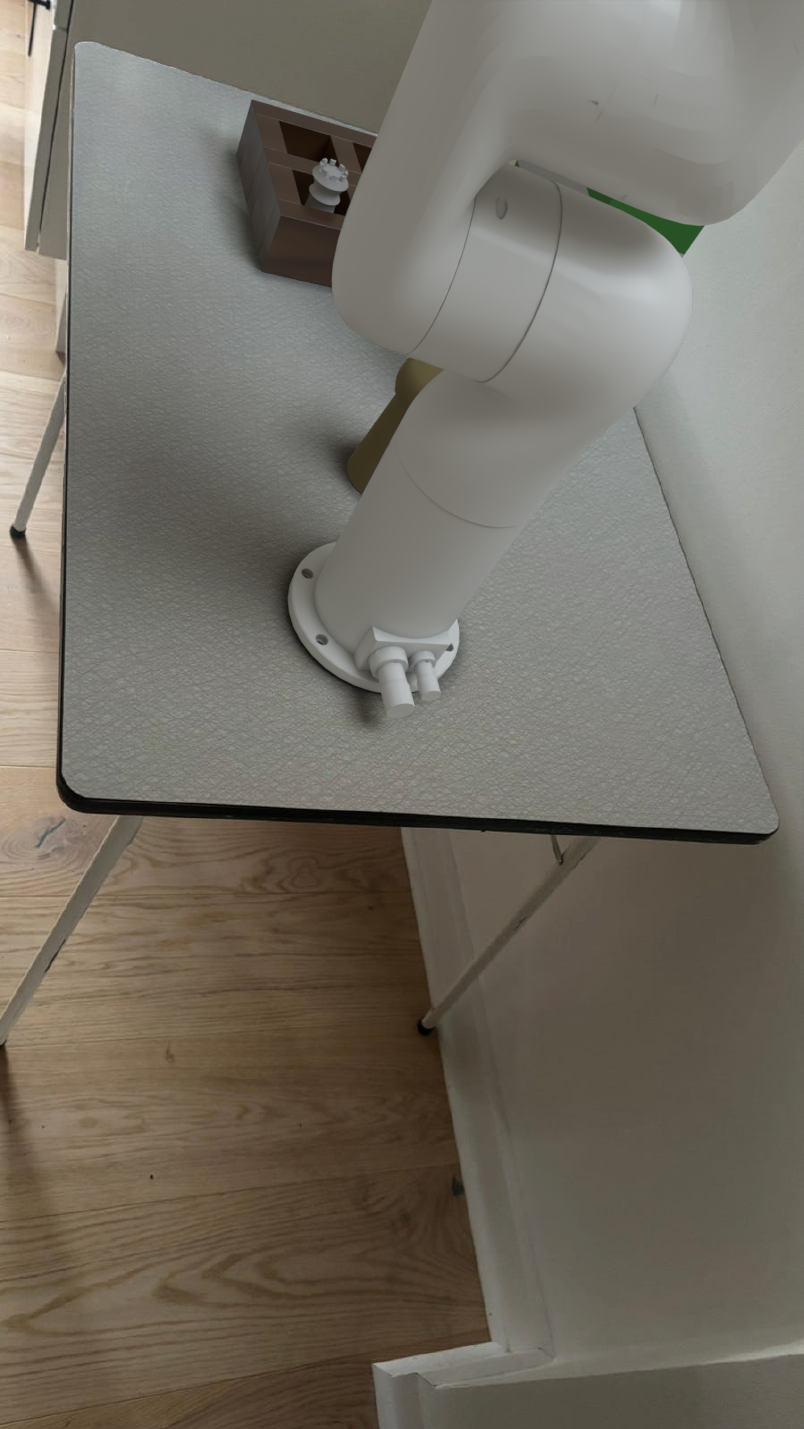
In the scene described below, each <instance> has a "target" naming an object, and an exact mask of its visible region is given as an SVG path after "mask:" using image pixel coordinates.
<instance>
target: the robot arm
mask: <svg viewBox="0 0 804 1429" xmlns="http://www.w3.org/2000/svg"><path fill="white" fill-rule="evenodd" d="M405 64H406V65H405V66H404V69H403V72H402V74H401V77H400V79H399V81H398V84H397V86H396V89H395V91H394V94H393V96H392V99H391V101H390V104H389V106H388V109H387V111H386V113H385V116H384V117H383V118H384V119H383V120H382V124H381V126H380V129H379V130H378V133H377V138H376V141H375V143H374V145H373V148H372V150H371V153H370V155H369V158H368V160H367V162H366V165H365V167H364V170H363V172H362V175H361V177H360V179H359V182H358V185H357V187H356V190H355V193H354V195H353V198H352V200H351V203H350V206H349V208H348V211H347V214H346V216H345V219H344V222H343V226H342V229H341V232H340V235H339V239H338V242H337V247H336V252H335V257H334V262H333V270H332V287H331V291H332V292H331V293H332V296H333V302H334V305H335V307H336V310H337V312H338V314H339V316H340V318H341V319H342V320H343V322H344V323H345V324H346V326H347V327H348V328H349V329H351V330H352V331H353V332H354V333H355V334H357V335H358V336H360V337H361V338H362V339H365V340H366V341H368V342H370V343H372V344H374V345H377V346H379V347H381V348H384V349H386V350H389V351H391V352H394V353H397V354H399V355H402V356H403V357H406V358H413V359H415V360H418V361H421V362H424V363H427V364H430V365H433V366H436V367H439V368H441V369H444V370H443V371H442V372H440V373H439V374H438V375H437V376H436V377H434V378H433V379H432V380H431V381H430V382H429V383H428V384H427V385H426V386H425V387H424V388H423V389H422V390H421V391H420V393H419V394H418V395H417V396H416V398H415V399H414V400H413V402H412V403H411V405H410V406H409V408H408V410H407V412H406V413H405V415H404V417H403V419H402V421H401V423H400V424H399V427H398V428H397V430H396V432H395V434H394V435H393V437H392V439H391V441H390V443H389V445H388V447H387V449H386V450H385V452H384V454H383V456H382V458H381V460H380V462H379V464H378V466H377V468H376V469H375V471H374V473H373V475H372V477H371V479H370V481H369V483H368V485H367V486H366V488H365V490H364V492H363V494H361V496H360V497H359V500H358V501H357V504H356V506H355V507H354V508H353V511H352V513H351V515H350V516H349V519H348V520H347V522H346V525H345V526H344V528H343V530H342V531H341V534H340V536H339V537H338V540H337V541H333V542H329V543H327V544H322V545H321V546H319V547H317V548H315V549H314V550H311V551H310V553H308V554H307V555H306V556H305V557H304V558H302V560H301V561H300V563H299V564H298V566H297V567H296V569H295V572H294V574H293V577H292V579H291V581H290V584H289V588H288V593H287V605H288V613H289V616H290V621H291V624H292V627H293V628H294V631H295V633H296V634H297V636H298V638H299V640H300V642H301V643H302V644H303V646H304V647H305V648H306V649H307V651H308V652H309V653H310V655H311V656H312V657H313V658H314V659H315V660H316V661H317V662H318V663H319V664H320V665H322V667H324V669H326V670H328V671H329V672H330V673H332V674H333V675H335V676H336V677H338V678H339V679H340V680H342V681H345V682H346V683H349V684H351V685H353V686H355V687H357V688H360V689H363V690H367V691H370V692H373V693H380V694H381V698H382V703H383V707H384V711H385V715H386V717H387V718H389V719H393V720H398V719H399V720H400V719H404V718H406V717H408V716H410V715H412V714H413V713H414V712H415V710H416V705H415V701H414V698H413V693H414V692H418V693H419V698H420V700H421V701H422V702H426V703H429V702H434V701H436V700H438V699H439V698H441V696H442V690H441V687H440V684H439V679H441V678H442V677H443V676H444V674H445V673H446V672H447V670H448V669H449V668H450V667H451V665H452V663H453V662H454V660H455V658H456V657H457V654H458V649H459V646H460V626H459V621H458V618H459V617H460V616H461V614H462V613H463V612H464V610H465V609H466V608H467V606H468V605H469V604H470V602H471V601H472V599H473V598H474V597H475V596H476V594H477V593H478V591H479V590H480V589H481V587H482V586H483V584H484V583H485V582H486V581H487V579H488V578H489V577H490V575H491V574H492V572H493V571H494V570H495V568H496V567H497V566H498V564H499V563H500V562H501V560H502V559H503V558H504V556H505V555H506V554H507V552H509V550H510V548H511V547H512V546H513V544H514V543H515V541H516V540H518V538H519V536H520V534H521V533H522V532H523V531H524V529H525V528H526V526H527V525H528V524H529V523H530V522H531V520H532V518H533V517H534V516H535V515H536V514H537V513H538V511H539V510H540V508H541V507H542V506H543V505H544V503H545V502H546V500H547V499H548V497H549V496H550V495H551V494H552V492H553V491H554V490H555V489H556V488H557V486H558V485H559V484H560V482H561V481H562V480H563V478H564V477H565V476H566V474H567V473H568V472H569V471H570V470H571V469H572V467H573V466H574V465H575V464H576V463H577V462H578V460H579V459H580V458H581V457H582V456H583V455H584V454H585V452H586V451H587V450H588V449H589V448H590V447H591V446H592V445H593V444H595V443H596V441H597V440H599V438H601V437H602V436H603V435H604V434H605V433H607V431H608V430H610V428H612V427H613V426H614V425H615V424H616V423H617V422H619V421H620V420H622V418H624V417H625V415H627V414H628V413H629V412H631V411H632V409H634V407H636V406H637V405H638V404H639V403H640V402H641V401H642V400H644V398H645V397H646V396H647V395H648V394H649V393H650V392H651V391H652V390H653V389H654V388H655V387H656V386H657V384H658V383H659V382H660V380H662V378H663V377H664V375H665V374H666V373H667V372H668V371H669V369H670V368H671V367H672V365H673V363H674V361H675V360H676V358H677V356H678V354H679V352H680V350H681V349H682V346H683V344H684V342H685V340H686V337H687V334H688V332H689V327H690V324H691V320H692V315H693V308H694V293H693V292H694V291H693V285H692V280H691V277H690V273H689V270H688V268H687V265H686V263H685V261H684V259H683V257H681V256H680V254H679V253H678V252H677V250H676V249H675V248H674V247H673V245H672V244H671V243H670V242H669V241H668V240H667V239H666V238H665V237H664V236H662V235H661V234H660V233H658V232H657V231H656V230H654V229H653V228H651V227H650V226H649V225H647V224H646V223H644V222H643V221H641V220H639V219H637V218H635V217H633V216H631V215H630V214H628V213H626V212H624V211H622V210H620V209H617V208H615V207H613V206H610V205H608V204H606V203H603V202H601V201H599V200H596V199H594V198H592V197H589V196H587V195H585V194H582V193H580V192H578V191H576V190H573V189H571V188H569V187H566V186H564V185H562V184H559V183H557V182H555V181H552V180H549V179H548V180H547V179H545V178H542V177H540V176H538V175H535V174H533V173H531V172H528V171H526V170H524V169H522V168H519V167H517V166H515V164H512V163H510V162H512V161H515V160H516V161H517V160H523V161H527V162H529V163H532V164H534V165H537V166H539V167H541V168H543V169H546V170H548V171H551V172H554V173H556V174H559V175H561V176H563V177H565V178H568V179H570V180H572V181H574V182H577V183H579V184H581V185H583V186H586V187H588V188H590V189H592V190H595V191H597V192H599V193H602V194H604V195H606V196H608V197H611V198H613V199H615V200H617V201H620V202H622V203H625V204H627V205H630V206H632V207H634V208H637V209H639V210H642V211H644V212H647V213H650V214H653V215H655V216H658V217H661V218H664V219H667V220H671V221H674V222H678V223H682V224H688V225H696V226H703V225H705V226H709V225H715V224H718V223H720V222H724V221H727V220H729V219H730V218H732V217H734V216H735V215H736V214H737V213H739V212H740V211H742V210H743V209H744V208H745V207H746V206H747V205H748V204H749V203H751V201H753V200H754V199H755V198H756V197H757V196H758V195H759V194H760V192H761V191H762V190H763V189H764V188H765V187H766V186H767V185H768V183H769V182H770V181H771V180H772V179H773V177H774V176H775V175H776V174H777V173H778V171H779V170H780V169H781V168H782V166H783V165H784V164H785V163H786V161H787V160H788V159H789V158H790V156H791V155H792V154H793V152H794V151H795V150H796V149H797V148H798V146H799V145H800V143H801V142H802V141H803V139H804V0H431V3H430V5H429V8H428V10H427V12H426V15H425V17H424V20H423V22H422V25H421V28H420V29H419V32H418V35H417V37H416V40H415V42H414V44H413V47H412V49H411V52H410V55H409V57H408V59H407V62H406V63H405Z"/></svg>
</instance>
